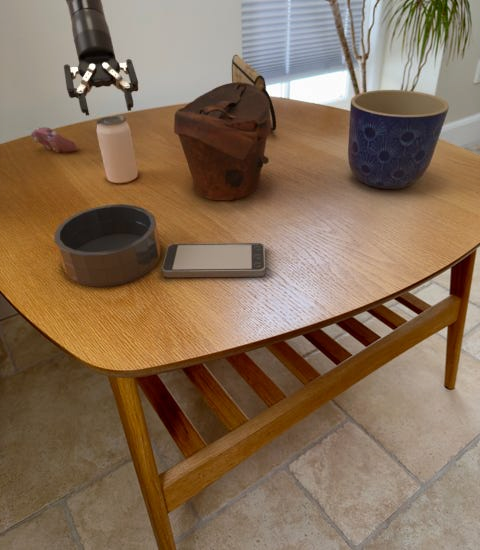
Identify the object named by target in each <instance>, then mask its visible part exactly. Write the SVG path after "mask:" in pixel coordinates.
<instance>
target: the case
mask: <svg viewBox="0 0 480 550" xmlns="http://www.w3.org/2000/svg"><path fill="white" fill-rule="evenodd" d="M173 121H174V123H173V124H174V125H173V130H174V131H173V132H174V134H175V135H177V136H178V138H179V141H180V144H181V147H182V150H183V153H184V157H185V159H186V163H187V166H188V169H189V172H190V175H191V179H192V181H193V184H194V188H195V190H196V192H197V193H198V194H199V196H201V197H203V198H204V199H207V200H209V201H210V200H211V201H233V200H234V201H235V200H238V199H241V198H244V197H247V196H249V195H251V194H252V193H254V191H256V190H257V188H258V186H259V183H260V178H261V174H262V173H261V172H262V168H263V167H264V165H267V164H268V163H269V157H268V156H266V155H265V151H266V145H267V139H268V137H269V136H270V134H271V132H272V130H271V128H272V120H271V112H270V103H269V100H268V98H267V96H266V95H265V94H264V92H263V91H261V90H260V89H259V88H257V87H255V86H253V85H251V84H248V83H242V82H236V83H232V82H229V83H224V84H222V85H219V86H216V87H214V88H213V89H211V90H209V91H207V92H205V93H203V94H202V95H199V96H197V97H196V98H195V99H194V100H192V101H190V102H188V104H186V105H185V106H184V107H181V108H178V109H176V111H175V112H174V119H173Z"/></svg>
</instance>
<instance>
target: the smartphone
mask: <svg viewBox="0 0 480 550" xmlns="http://www.w3.org/2000/svg"><path fill="white" fill-rule="evenodd" d="M161 271H162V277H164V278H227V277H228V278H235V277H236V278H241V277H242V278H243V277H244V278H245V277H246V278H247V277H249V278H251V277H254V278H255V277H257V278H258V277H263V276H265V275H266V255H265V244H264V243H263V242H220V243H219V242H206V243H205V242H201V243H200V242H199V243H196V242H194V243H192V242H191V243H171V244H168V245H167V248H166V252H165V256H164V260H163V262H162V266H161Z"/></svg>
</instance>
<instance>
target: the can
mask: <svg viewBox="0 0 480 550" xmlns="http://www.w3.org/2000/svg"><path fill="white" fill-rule="evenodd" d="M96 124H97V125H96V129H95V130H96V136H97V141H98V145H99V150H100V155H101V159H102V161H103V167H104V173H105V177H106V180H108V182H110V183H111V184H120V185H121V184H128V183H131V182H133V181H135V180H136V179H137V177H138V176H139V175H138V174H139V173H138V167H137V166H138V165H137V160H136V154H135V150H134V143H133V137H132V132H131V127H130V124H128V122H127V118H126V117H124V116H121V115H109V116H104V117H102V118H99V119H97V120H96Z"/></svg>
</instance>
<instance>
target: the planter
mask: <svg viewBox="0 0 480 550" xmlns="http://www.w3.org/2000/svg"><path fill="white" fill-rule="evenodd" d="M349 107H350V108H349V123H348V124H349V125H348V143H347V144H348V145H347V157H348V159H347V160H348V164H349V168H350V170H351V172H352V174H353V175H354V176H355V178H356V179H358V181H360V182H361V183H364V184H365V185H367V186H369V187H372V188H373V187H374V188H377V189H385V190H397V189H402V188H405V187H409V186H411V185H412V184H414V183H416V182H417V181H418V180H420V179H421V178H422V177H423V176H424V175H425V173H426V171H427V170H428V168H429V166H430V164H431V161H432V159H433V157H434V154H435V150H436V148H437V144H438V142H439V139H440V135H441V132H442V129H443V127H444V123H445V121H446V117H447V115H448V112H449V108H450V105H449V103H448V102H447V101H446V100H445V99H443V98H442V97H440V96H437V95H434V94H430V93H427V92H420V91H414V90H404V89H378V90H369V91H364V92H360V93H358V94H356V95H354V96H353V97H352V98H351V100H350V106H349Z"/></svg>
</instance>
